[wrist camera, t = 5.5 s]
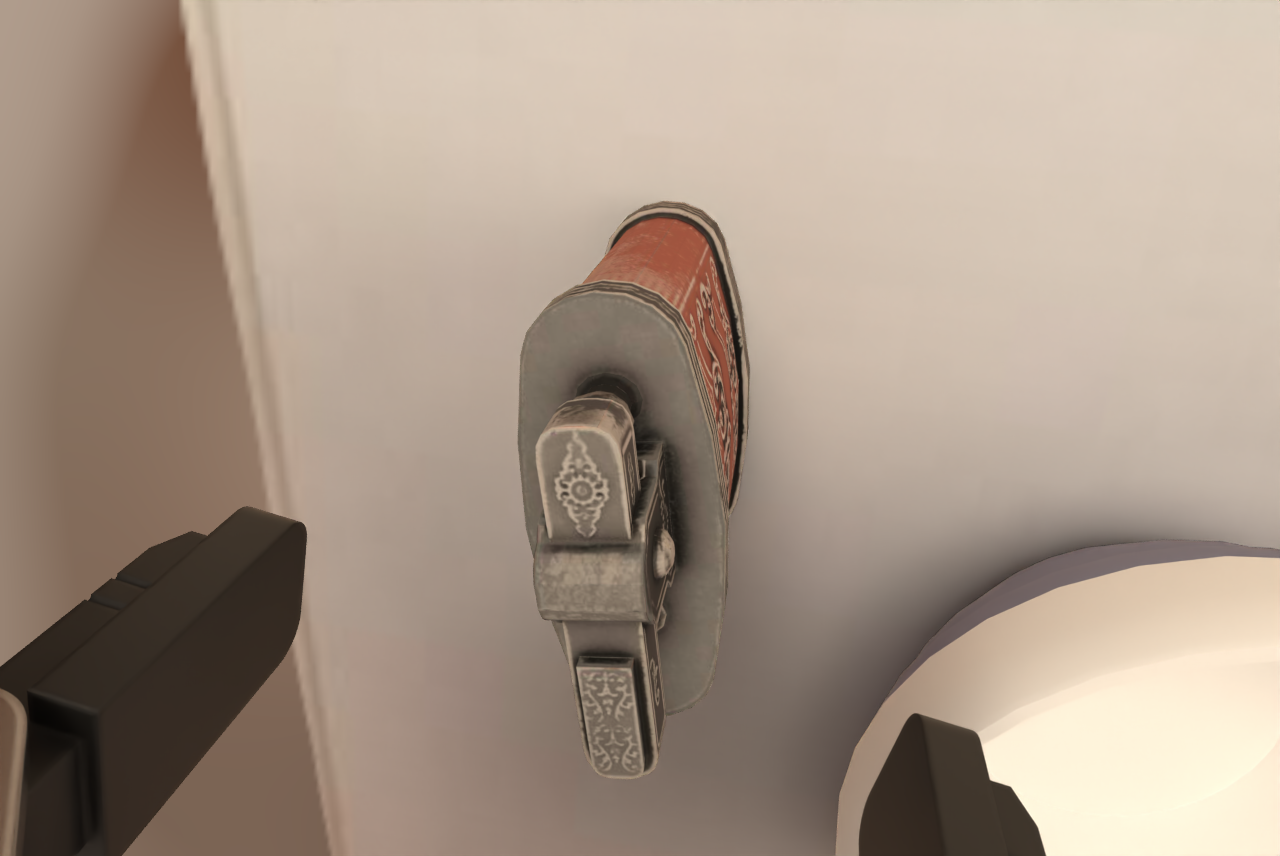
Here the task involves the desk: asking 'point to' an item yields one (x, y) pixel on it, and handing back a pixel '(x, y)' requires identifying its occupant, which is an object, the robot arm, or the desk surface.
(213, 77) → the desk surface
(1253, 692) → the bowl
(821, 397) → the desk surface
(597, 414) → the lighter
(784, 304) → the desk surface
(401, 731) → the desk surface
